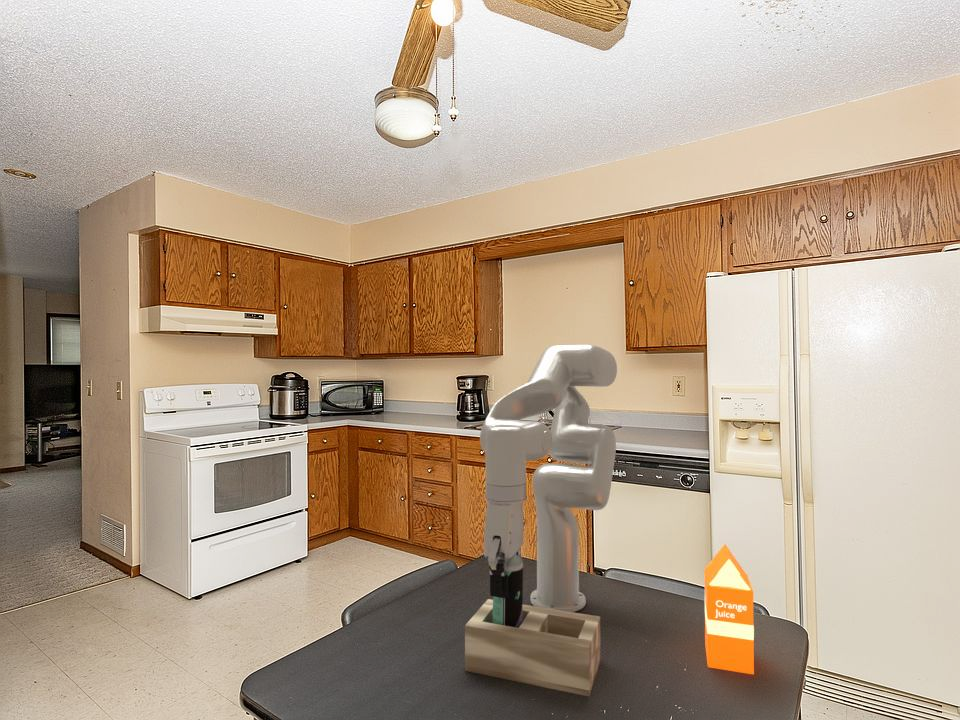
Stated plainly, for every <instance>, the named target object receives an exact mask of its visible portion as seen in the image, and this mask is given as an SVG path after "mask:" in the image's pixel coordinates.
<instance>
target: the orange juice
mask: <svg viewBox="0 0 960 720" xmlns="http://www.w3.org/2000/svg"><path fill="white" fill-rule="evenodd" d="M703 572H704V588H703V589H704V591H703V592H704V625H705V626H704V640H705V641H704V644H705V645H704V646H705V655H706V662H707V668H711V669H716V670H717V669H718V670H725V671H729V672H730V671H731V672H736V673H742V674H747V675H748V674H749V675H755V666H754V665H755V664H754V663H755V661H754V660H755V655H754V652H755V651H754V648H755V645H754V644H755V641H754V640H755V639H754V638H755V626H754V625H755V624H754V590H753V587H752V583H751V581H750V579H749V576H748V573H747V572H745V570H744V569H743V567H742V566H741V565H740V563H739V562H738V560H737V559H736V557H735V555H733V553H732V552H731V551H730V549H729V548H728V546H727V543H724V545H723V546H722V547H721V548H720V549H719V551H717V553H716V554H715V555H714V557H713V558H712V559H711V561H710V562H709V563H708V564H707V565H706V567H704V569H703Z"/></svg>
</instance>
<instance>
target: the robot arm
mask: <svg viewBox="0 0 960 720" xmlns="http://www.w3.org/2000/svg"><path fill="white" fill-rule="evenodd" d="M617 373H618V366H617V360H616V358H615V357H614V355H613V354H612V353H611V352H610V351H608V350H606V349H604V348H602V347H600V346H597V345H594V344H587V343H586V344H585V343H583V344H576V343H575V344H556V345H554V344H553V345H550V346H548V347H547V348H545V349H544V350H543V352H542V353H541V355H540V357H539V359H538V361H537V362H536V364H535V366H534V369H533V370H532V372H531V374H530V376H529V378H528V380H527V382H526V383H525V384H522V385H521V386H519V387H517V388H516V389H514V390H512V391H511V392H509V393H507V394H506V395H504V396H502V397H501V398H500V399H499V400H497V401H496V402H495V403H494V404H493V406H492V407H491V409H490V411H489V413H488V414H487V416H486V418H485V419H484V422H483V424H482V427H481V431H480V433H479V444H480V447H481V450H482V451H484V452H483V453H485V454H484V455H485V501H486V502H487V503H486V509H485V520H484V536H483V538H484V539H483V556H484V557H485V558H487V563H488V568H489V586H490V587H489V593H490V596H491V597H492V598H493V597H500V598H507V597H508V575H506V570H507V563H508V560H509V559H510V558H511V557H512V556H513V555H514V554H515V553H516V555H518V556H520V557H521V558H522V552H521V548H522V547H523V545H524V544H523V543H524V537H525V536H524V534H525V533H524V530H525V529H524V527H525V526H524V507H523V505H524V504H523V503H525V502H526V501H527V461H538V460H540V459H541V460H542V459H543V458H544V457H545V458H546V456H547V455H549V456H550V458H552V459H553V460H554V461H558V462H562V463H558V462H554V463H551V462H549V463H544V464H541V465H539V466H538V467H537V468H536V469H535V471H534V472H533V475H532V491H533V497H534V503H535V511H536V589H534V590H533V591H532V592H531V593H530V596H529V597H530V600H529V601H530V603H531V604H532V606H536V607H542V608H548V609H555V610H561V611H568V612H574V613H576V612H578V611H580V610H582V609H583V608H585V606H586V603H587V601H586V600H587V599H586V596H585V595H584V593H582V592H581V591H580V577H579V576H580V574H579V573H580V570H579V569H580V568H579V567H580V565H579V564H580V561H579V559H580V558H579V556H580V554H579V552H580V551H579V550H580V547H579V544H580V543H579V542H580V541H579V539H580V538H579V530H580V529H579V524H578V520H577V517H576V516H575V514H574V513H573V511H572V510H571V508H573V509H579V510H589V511H601V510H603V509H604V508H606V506H607V505H608V502H609V500H610V494H611V493H610V492H611V488H612V487H611V486H612V480H613V475H614V474H613V473H614V466H615V461H616V451H617V443H616V442H617V441H616V435H615V433H614V431H613V429H612V428H611V427H609V426H608V425H606V424H602V423H590V422H589V417H590V411H591V410H590V405H589V403H588V401H587V400H586V399H585V398H584V396H583V395H582V394H581V393H580V391H579V390H578V389H577V387H595V388H597V387H598V388H599V387H600V388H601V387H610V386H611V385H612V384H613V383H614V382H615V380H616V378H617ZM552 410H554V412H553V418H552V421H551V427H549V426H547V424H545V423H543V422H541V421H538V420H537V421H536V420H524V419H527V418H531V417H534V416H538V415H541V414H544V413H547V412H550V411H552ZM570 463H571V464H570ZM577 464H578V465H577ZM579 464H580V465H579ZM581 464H582V465H581ZM500 554H505V556H504V557H500V556H498V555H500ZM498 561H503V565H502V567H501V565H500V563H498Z"/></svg>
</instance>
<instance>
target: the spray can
mask: <svg viewBox="0 0 960 720" xmlns="http://www.w3.org/2000/svg"><path fill="white" fill-rule="evenodd" d="M498 556H500V557H504V556H505V554H499V555H498ZM523 560H524V559H523V558H522V556H521V557H520V556H518V555H516V553H515V554H514V555H513V556H512V557H511V558H510V559H509V560H508V563H507V570H506V575H508V597H507V598H500V597H493V596H492V600H493V624H499V625H505V626H510V627H516V628H519V627H520V625H521V624H522V606H523V605H524V604H523V603H524V602H523V594H524V593H523V592H524V563H523ZM498 563H500V565H501V567H502V565H503V561H498Z"/></svg>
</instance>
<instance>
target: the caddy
mask: <svg viewBox="0 0 960 720" xmlns="http://www.w3.org/2000/svg"><path fill="white" fill-rule="evenodd" d="M600 663H601V616H599V615H592V614H585V613H580V612H579V613H578V612H568V611H561V610H555V609H548V608H542V607H536V606H534V605H530V604H529V605H528V604H523V606H522V624H521V625H520V627H519V628H516V627H510V626H505V625H499V624H493V599H490V598H487V599H486V601H485V602H484V603H483V604H482V605H481V606H480V608H479V609H478V610H477V611H475V614H473V616H472V617H471V618H470V619H468V621H467V622H466V624H465V625H464V670H465V672H470V673H475V674H479V675H484V676H489V677H494V678H498V679H503V680H508V681H513V682H518V683H522V684H527V685H532V686H537V687H542V688H545V689H546V688H547V689H550V690H551V689H552V690H555V691H560V692H563V693H564V692H566V693H570V694H575V695H579V696H584V697H590V695H591V691H592V688H593V684H594V682H595V678H596V676H597V673H598V669H599V666H600Z"/></svg>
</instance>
